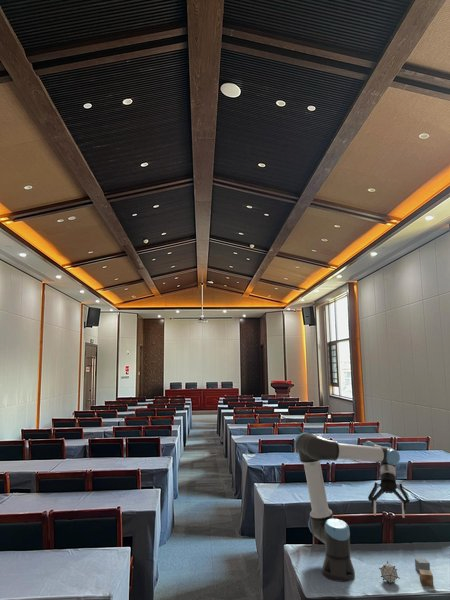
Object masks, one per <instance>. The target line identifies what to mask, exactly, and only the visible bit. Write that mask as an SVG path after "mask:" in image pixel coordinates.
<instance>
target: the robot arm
mask: <svg viewBox="0 0 450 600" xmlns="http://www.w3.org/2000/svg"><path fill="white" fill-rule="evenodd" d="M293 442H294V443H293V444H294V449H295V451H296V452H297V454H298V456H299V462H301V464H303V468H304V472H305V478H306V484H307V490H308V494H309V501H310V506H311V511H310V512H309V518H308V528H309V531H310V533H311V534H312V535H313V537H315V538H317V539H318V541H320V542H322V543H323V544H325V556H324V560H323V564H322V569H321V570H322V575H323V576H324V577H325V578H327V579H328V580H331V581H335V582H349V581H352V580H354V578H355V577H356V575H355V568H354V566H353V562H352V559H351V537H350V536H351V532H350V531H351V530H350V527H349V525H348V523H347V522H345V521H344V520H342V519H338V518H334V514H333V511H332V509H330V508H329V504H328V499H327V493H326V488H325V482H324V477H323V470H322V466H321V461H334V462H335V461H337V460H348V461H357V462H358V461H359V462H360V461H361V462H371V463H380V483H378V482H374V485H373V487H372V490H371V491H370V493H369V495H368V496H367V499H368V501H369V502H371V507H372V509H373V515H374V516H377V500H378V499H379V498H380V497H382V495H383V494H394V495H395V497H396V498H398V500H400V502H401V516H402V518H404V519H405V511H406V512H407V505H408V504H409V505H410V504H411V501H410V498H409V496H408V495H407V493H406V491H405V490H404V487H403V484H402V483H399V484H397V479H396V478H397V477H396V476H397V475H396V474H397V473H396V465H398V464H399V462H400V460H401V456H400V453H399V452H398V451H397V450H396V449H394V448H392V447H391V446H390V447H389V446H382V445H379V444H376V443H374V442H372V441H370V440H367V441H365V442H364V443H363V445H361V444H360V445H359V444H351V443H339V442H338V441H336V440H331V439H329V438H324V437H322V436H320V435H315V434H313V433H311V432H302V433H300V434H298V435H297V436H296V438H295V440H294V441H293ZM379 487H380V489H379ZM397 488H398V489H399V490H400V491H401V494H402V495H401V494H400V493H399V492H398V491H397ZM378 489H379V490H378ZM377 490H378V491H377ZM403 497H404V498H403Z"/></svg>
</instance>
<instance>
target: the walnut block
mask: <svg viewBox="0 0 450 600" xmlns="http://www.w3.org/2000/svg"><path fill="white" fill-rule="evenodd" d="M418 574H419V582H420V585H421V586H422V587H428V588H429V587H430V588H434V575H433V573H432V571H431V569H430V570H421V569H419V572H418Z"/></svg>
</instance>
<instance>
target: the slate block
mask: <svg viewBox="0 0 450 600" xmlns="http://www.w3.org/2000/svg"><path fill="white" fill-rule="evenodd" d="M414 565H415V566H414V567H415V570H416V571H417V572H418V573H419V569H421V570H430V571H431V567H430V566H431V565H430V562H429V561H428V560H427V559H426V558H425V557H424V558H423V557H422V558H417V557H416V558H414Z"/></svg>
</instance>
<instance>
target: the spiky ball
mask: <svg viewBox="0 0 450 600" xmlns="http://www.w3.org/2000/svg"><path fill="white" fill-rule="evenodd" d="M378 569H379V570H380V573H381V576H380V578H382V581H386V582H387V583H389V586H392V583H393V582H396V580H397V579H400V577H399V575H398V569H397V568H396V565H394V566H393V565H391V563H389V562H388V561H386V564H383V566H382V567H378Z"/></svg>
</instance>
